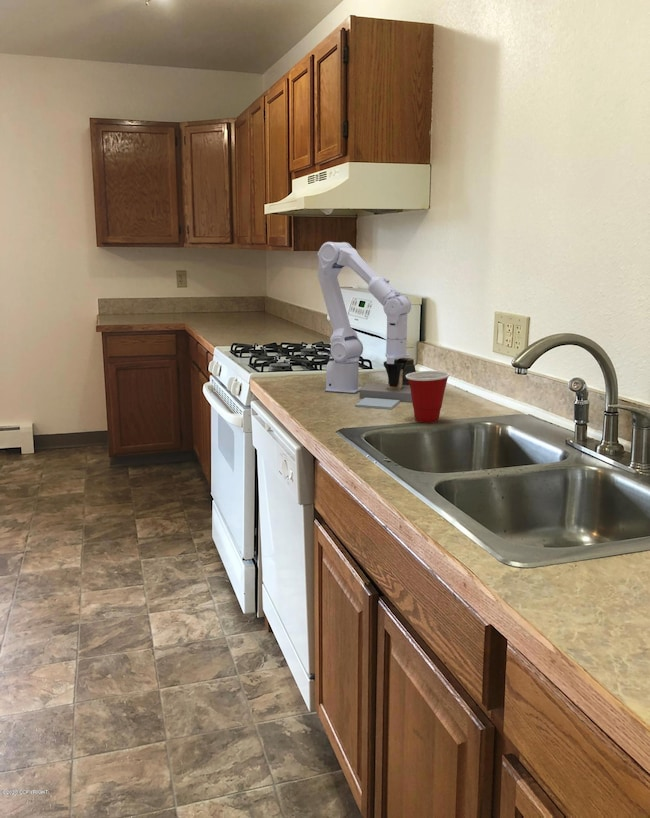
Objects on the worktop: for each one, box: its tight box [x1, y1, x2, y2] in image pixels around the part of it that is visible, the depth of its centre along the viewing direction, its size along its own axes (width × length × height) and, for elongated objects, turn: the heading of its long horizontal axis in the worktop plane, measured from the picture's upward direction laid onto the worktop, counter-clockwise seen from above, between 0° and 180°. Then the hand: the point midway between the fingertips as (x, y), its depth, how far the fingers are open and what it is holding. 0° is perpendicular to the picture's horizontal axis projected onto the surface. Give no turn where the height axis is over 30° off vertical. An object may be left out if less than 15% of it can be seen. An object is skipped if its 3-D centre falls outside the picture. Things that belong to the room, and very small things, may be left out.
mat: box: [355, 398, 401, 410], centre depth 197 cm, size 10×10×1 cm
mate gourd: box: [402, 357, 417, 385], centre depth 227 cm, size 7×8×10 cm
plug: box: [387, 369, 403, 390], centre depth 207 cm, size 3×3×8 cm
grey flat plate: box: [358, 382, 412, 403], centre depth 207 cm, size 18×12×2 cm, turn 71°
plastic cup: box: [406, 370, 450, 424], centre depth 178 cm, size 11×11×12 cm
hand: (395, 385), depth 207 cm, fingers closed on plug, 3 cm apart
